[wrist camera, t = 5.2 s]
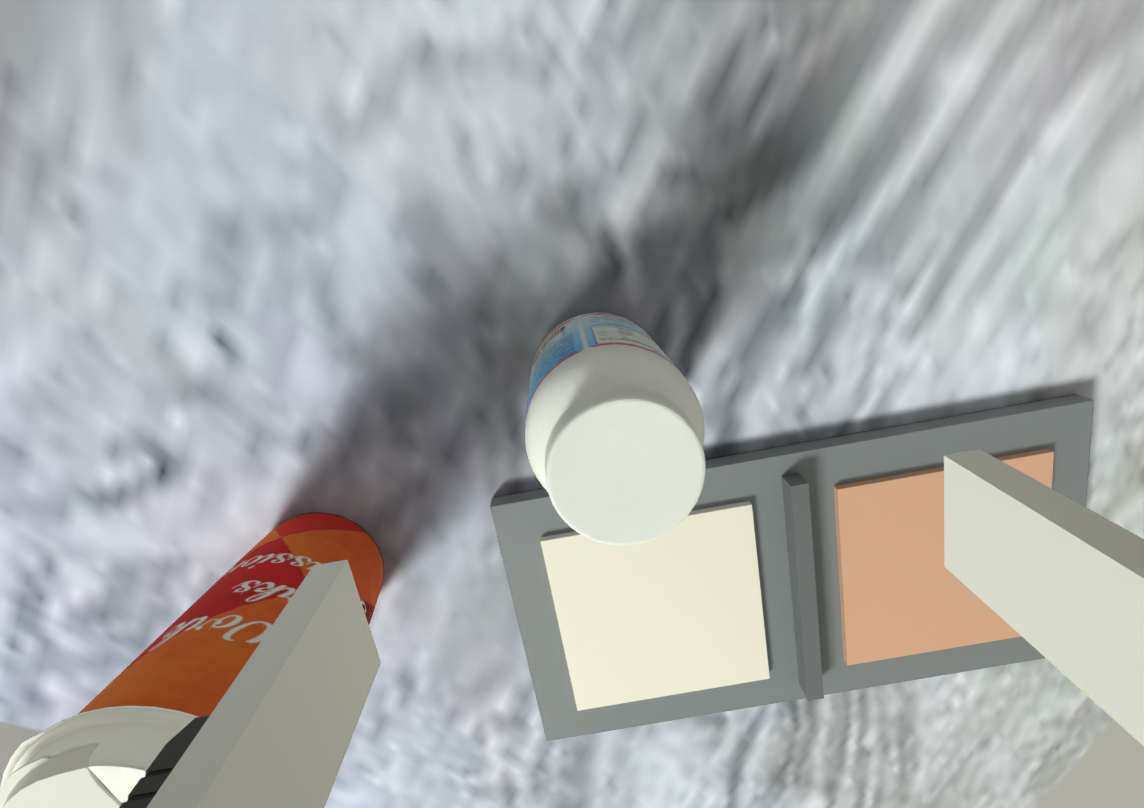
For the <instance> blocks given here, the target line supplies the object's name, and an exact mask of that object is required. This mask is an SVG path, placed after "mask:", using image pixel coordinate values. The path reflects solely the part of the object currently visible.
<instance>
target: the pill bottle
mask: <svg viewBox="0 0 1144 808" xmlns="http://www.w3.org/2000/svg"><path fill="white" fill-rule="evenodd" d="M703 442H704V420H703V415H702V410H701V407H700V404H699V401H698V399H697V397H696V394H695V392H694V391H693V389H692V387H691V386H690V384H689V383H688V381H687V380H686V378H685V377H684V375H683V374H682V373H681V372H680V371H679V370H678V369H677V367H676V366H675V365H674V364H673V363H672V362H671V360H670V359H669V358H668V357H667V356H666V355H665V353H664V352H663V351H662V350H661V349H660V348H659V346H658V345H657V344H656V343H655V342H654V341H653V339H652V338H651V337H650V336H649V335H648V334H647V333H646V332H645V331H644V330H643V329H642V328H641V327H639V326H638V325H637V324H635V323H634V322H632V321H630V320H628V319H626V318H624V317H621V316H618V315H615V314H610V313H599V312H598V313H587V314H582V315H578V316H576V317H573V318H571V319H568V320H566V321H565V322H563V323H561V324H560V325H558V326H557V327H556V328H554V329H553V330H552V331H551V332H550V333H549V334H548V335H547V336H546V338H545V339H544V340H543V341H542V343H541V344H540V346H539V348H538V350H537V352H536V354H535V357H534V359H533V363H532V367H531V372H530V382H529V392H528V403H527V413H526V424H525V443H526V450H527V455H528V458H529V461H530V465H531V467H532V469H533V471H534V473H535V475H536V477H537V479H538V480H539V482H540V483H541V484H542V486H543V487H544V488H545V489H546V491H547V492H548V493H549V496H550V499H551V502H552V504H553V506H554V508H555V509H556V511H557V513H558V514H559V515H560V517H561V518H562V519H563V520H564V521H565V522H566V523H567V524H568V525H569V526H570V527H571V528H572V529H574V530H575V531H576V532H578V533H579V534H581V535H583V536H585V537H587V538H589V539H591V540H594V541H597V542H600V543H604V544H610V545H623V546H624V545H634V544H640V543H644V542H648V541H651V540H654V539H656V538H658V537H660V536H662V535H664V534H666V533H667V532H669V531H670V530H672V529H673V528H675V527H676V526H677V525H678V524H680V523H681V522H682V521H683V520H684V519H685V518H686V517H687V516H688V514H689V513H690V512H691V510H692V509H693V507H694V506H695V504H696V502H697V501H698V498H699V496H700V494H701V491H702V488H703V485H704V480H705V473H706V462H705V455H704V450H703Z"/></svg>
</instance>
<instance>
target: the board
mask: <svg viewBox="0 0 1144 808" xmlns="http://www.w3.org/2000/svg"><path fill="white" fill-rule="evenodd" d="M1092 414H1093V400H1090V399H1087V398H1085V397H1082V396H1079V395H1070V396H1064V397H1059V398H1053V399H1047V400H1042V401H1036V402H1030V403H1025V404H1019V405H1013V406H1008V407H1002V408H996V409H991V410H985V411H979V412H974V413H968V414H962V415H957V416H951V417H946V418H940V419H934V420H929V421H923V422H917V423H912V424H906V425H900V426H895V427H889V428H883V429H878V430H872V431H866V432H861V433H855V434H849V435H844V436H838V437H832V438H827V439H821V440H816V441H810V442H804V443H799V444H793V445H787V446H782V447H776V448H770V449H765V450H759V451H753V452H748V453H742V454H736V455H731V456H725V457H719V458H714V459H708V460H705V462H706V473H705V480H704V485H703V488H702V491H701V494H700V496H699V498H698V501H697V502H696V504H695V506H694V507H693V509H692V510H691V512H690V513H689V514H688V516H687V517H686V518H685V519H684V520H683V521H682V522H681V523H680V524H678V525H677V526H676V527H675V528H673V529H672V530H670V531H669V532H667V533H666V534H664V535H662V536H660V537H658V538H656V539H654V540H651V541H648V542H644V543H640V544H634V545H624V546H623V545H610V544H604V543H600V542H597V541H594V540H591V539H589V538H587V537H585V536H583V535H581V534H579V533H578V532H576V531H575V530H574V529H572V528H571V527H570V526H569V525H568V524H567V523H566V522H565V521H564V520H563V519H562V518H561V517H560V515H559V514H558V513H557V511H556V509H555V508H554V506H553V504H552V502H551V499H550V496H549V493H548V492H547V491H546V489H545V488H544V489H538V490H533V491H527V492H522V493H516V494H510V495H505V496H499V497H493V498H492V501H491V506H490V508H491V512H492V516H493V521H494V525H495V529H496V533H497V537H498V541H499V545H500V550H501V554H502V558H503V562H504V566H505V570H506V574H507V578H508V583H509V587H510V591H511V595H512V599H513V603H514V607H515V612H516V616H517V620H518V624H519V628H520V632H521V636H522V641H523V645H524V649H525V653H526V657H527V661H528V665H529V670H530V674H531V678H532V682H533V686H534V690H535V694H536V699H537V703H538V707H539V711H540V715H541V719H542V723H543V727H544V732H545V736H546V740H547V741H551V740H557V739H563V738H569V737H575V736H581V735H587V734H593V733H599V732H605V731H611V730H617V729H623V728H629V727H635V726H641V725H647V724H653V723H659V722H665V721H671V720H677V719H683V718H689V717H695V716H701V715H707V714H713V713H719V712H725V711H731V710H737V709H743V708H749V707H755V706H761V705H767V704H773V703H779V702H785V701H791V700H797V699H803V698H807V700H808V701H810V700H816V699H822V698H824V695H827V694H833V693H839V692H845V691H851V690H857V689H863V688H869V687H875V686H880V685H886V684H892V683H898V682H904V681H910V680H916V679H922V678H928V677H934V676H940V675H946V674H952V673H958V672H964V671H970V670H976V669H982V668H988V667H994V666H1000V665H1006V664H1012V663H1018V662H1024V661H1030V660H1036V659H1042V658H1045V657H1044V656H1043V655H1042V654H1041V653H1040V652H1039V651H1037V650H1036V649H1035V648H1034V647H1033V646H1032V645H1031V644H1030V643H1029V642H1027V641H1026V640H1025V639H1024V638H1023V637H1022V636H1021V635H1020V634H1019V633H1018V632H1016V631H1015V630H1014V629H1013V628H1012V627H1011V626H1010V625H1009V624H1008V623H1006V622H1005V621H1004V620H1003V619H1002V618H1001V617H1000V616H999V615H998V614H996V613H995V612H994V611H993V610H992V609H991V608H990V607H989V606H988V605H986V604H985V603H984V602H983V601H982V600H981V599H980V598H979V597H978V596H976V595H975V594H974V593H973V592H972V591H971V590H970V589H969V588H968V587H966V586H965V585H964V584H963V583H962V582H961V581H960V580H959V579H958V578H956V577H955V576H954V575H953V574H952V573H951V572H950V571H949V570H948V569H946V568H945V567H944V455H949V454H955V453H960V452H966V451H972V450H978V449H980V450H982V451H984V452H986V453H988V454H989V455H991V456H993V457H995V458H997V459H998V460H1000V461H1002V462H1004V463H1006V464H1008V465H1009V466H1011V467H1013V468H1015V469H1017V470H1018V471H1020V472H1022V473H1024V474H1026V475H1028V476H1029V477H1031V478H1033V479H1035V480H1037V481H1038V482H1040V483H1042V484H1044V485H1046V486H1048V487H1049V488H1051V489H1053V490H1055V491H1057V492H1059V493H1060V494H1062V495H1064V496H1066V497H1068V498H1069V499H1071V500H1073V501H1075V502H1077V503H1079V504H1080V505H1082V506H1084V507H1086V494H1087V481H1088V467H1089V454H1090V440H1091V427H1092Z"/></svg>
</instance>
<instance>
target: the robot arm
mask: <svg viewBox="0 0 1144 808" xmlns="http://www.w3.org/2000/svg"><path fill="white" fill-rule="evenodd" d="M944 567H945V568H946V569H948V570H949V571H950V572H951V573H952V574H953V575H954V576H955V577H956V578H958V579H959V580H960V581H961V582H962V583H963V584H964V585H965V586H966V587H968V588H969V589H970V590H971V591H972V592H973V593H974V594H975V595H976V596H978V597H979V598H980V599H981V600H982V601H983V602H984V603H985V604H986V605H988V606H989V607H990V608H991V609H992V610H993V611H994V612H995V613H996V614H998V615H999V616H1000V617H1001V618H1002V619H1003V620H1004V621H1005V622H1006V623H1008V624H1009V625H1010V626H1011V627H1012V628H1013V629H1014V630H1015V631H1016V632H1018V633H1019V634H1020V635H1021V636H1022V637H1023V638H1024V639H1025V640H1026V641H1027V642H1029V643H1030V644H1031V645H1032V646H1033V647H1034V648H1035V649H1036V650H1037V651H1039V652H1040V653H1041V654H1042V655H1043V656H1044V657H1045V658H1046V659H1047V660H1049V661H1050V662H1051V663H1052V664H1053V665H1054V666H1055V667H1056V668H1057V669H1059V670H1060V671H1061V672H1062V673H1063V674H1064V675H1065V676H1066V677H1067V678H1069V679H1070V680H1071V681H1072V682H1073V683H1074V684H1075V685H1076V686H1077V687H1079V688H1080V689H1081V690H1082V691H1083V692H1084V693H1085V694H1086V695H1087V696H1089V697H1090V698H1091V699H1092V700H1093V701H1094V702H1095V703H1096V704H1097V705H1099V706H1100V707H1101V708H1102V709H1103V710H1104V711H1105V712H1106V713H1107V714H1109V715H1110V716H1111V717H1112V718H1113V719H1114V720H1115V721H1116V722H1117V723H1119V724H1120V725H1121V726H1122V727H1123V728H1124V729H1125V730H1126V731H1127V732H1129V733H1130V734H1131V735H1132V736H1133V737H1134V738H1135V739H1136V740H1137V741H1138V742H1140V743H1141V744H1142V745H1143V746H1144V539H1142V538H1140V537H1139V536H1137V535H1135V534H1133V533H1131V532H1129V531H1128V530H1126V529H1124V528H1122V527H1120V526H1119V525H1117V524H1115V523H1113V522H1111V521H1109V520H1108V519H1106V518H1104V517H1102V516H1100V515H1099V514H1097V513H1095V512H1093V511H1091V510H1089V509H1088V508H1086V507H1084V506H1082V505H1080V504H1079V503H1077V502H1075V501H1073V500H1071V499H1069V498H1068V497H1066V496H1064V495H1062V494H1060V493H1059V492H1057V491H1055V490H1053V489H1051V488H1049V487H1048V486H1046V485H1044V484H1042V483H1040V482H1038V481H1037V480H1035V479H1033V478H1031V477H1029V476H1028V475H1026V474H1024V473H1022V472H1020V471H1018V470H1017V469H1015V468H1013V467H1011V466H1009V465H1008V464H1006V463H1004V462H1002V461H1000V460H998V459H997V458H995V457H993V456H991V455H989V454H988V453H986V452H984V451H982V450H980V449H978V450H972V451H966V452H960V453H955V454H949V455H944ZM380 663H381V662H380V659H379V656H378V652H377V649H376V646H375V643H374V640H373V637H372V634H371V631H370V628H369V625H368V621H367V618H366V615H365V612H364V609H363V606H362V603H361V600H360V597H359V594H358V591H357V587H356V584H355V581H354V578H353V575H352V572H351V569H350V566H349V563H348V560H342V561H336V562H331V563H325V564H319V565H314V566H313V567H312V569H311V570H310V571H309V573H308V574H307V576H306V577H305V579H304V580H303V582H302V583H301V584H300V586H299V587H298V589H297V590H296V592H295V593H294V595H293V596H292V598H291V599H290V600H289V602H288V603H287V605H286V606H285V608H284V609H283V611H282V612H281V613H280V615H279V616H278V618H277V619H276V621H275V622H274V624H273V625H272V627H271V628H270V629H269V631H268V632H267V634H266V635H265V637H264V638H263V640H262V641H261V642H260V644H259V645H258V647H257V648H256V650H255V651H254V653H253V654H252V655H251V657H250V658H249V660H248V661H247V663H246V664H245V666H244V667H243V669H242V670H241V671H240V673H239V674H238V676H237V677H236V679H235V680H234V682H233V683H232V684H231V686H230V687H229V689H228V690H227V692H226V693H225V695H224V696H223V698H222V699H221V700H220V702H219V703H218V705H217V706H216V708H215V709H214V711H213V712H212V713H211V715H209V716H203V717H197V718H195V719H193V720H192V721H191V722H190V723H189V724H188V725H187V726H186V727H184V728H183V729H182V730H181V731H180V732H179V733H178V734H177V735H175V736H174V737H173V738H172V739H171V740H170V741H169V742H168V743H166V745H165V746H164V747H163V749H162V750H161V751H160V753H159V754H158V756H157V757H156V758H155V760H154V761H153V762H152V764H151V765H150V766H149V768H148V769H147V770H146V772H145V777H143V778H141V779H140V780H139V781H138V783H137V784H136V785H135V787H134V788H133V789H132V791H131V792H130V794H129V795H128V800H127V802H123V803H122V804H121V806H120V807H119V808H324V807H325V804H326V802H327V799H328V796H329V794H330V791H331V789H332V786H333V784H334V781H335V778H336V776H337V773H338V771H339V768H340V766H341V763H342V761H343V758H344V755H345V753H346V750H347V748H348V745H349V743H350V740H351V737H352V735H353V732H354V730H355V727H356V725H357V722H358V720H359V717H360V714H361V712H362V709H363V707H364V704H365V702H366V699H367V696H368V694H369V691H370V689H371V686H372V684H373V681H374V678H375V676H376V673H377V671H378V668H379V666H380Z"/></svg>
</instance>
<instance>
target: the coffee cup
mask: <svg viewBox="0 0 1144 808" xmlns="http://www.w3.org/2000/svg"><path fill="white" fill-rule="evenodd" d="M342 560H348V563H349V566H350V569H351V572H352V575H353V578H354V581H355V584H356V587H357V591H358V594H359V597H360V600H361V603H362V606H363V609H364V612H365V615H366V618H367V621H368V625H369V623H370V620H371V617H372V615H373V612H374V609H375V605H376V602H377V599H378V596H379V593H380V589H381V585H382V581H383V573H384V566H383V560H382V556H381V553H380V551H379V548H378V546H377V545H376V543H375V541H374V540H373V539H372V537H371V536H370V535H369V534H368V533H367V532H366V531H365V530H364V529H363V528H361V527H360V526H359V525H357V524H355V523H354V522H352V521H350V520H348V519H346V518H343V517H341V516H338V515H334V514H329V513H307V514H302V515H298V516H295V517H293V518H291V519H289V520H287V521H285V522H283V523H282V524H280V525H279V526H278V527H276V528H275V529H274V530H273V531H272V532H270V533H269V534H268V535H267V536H266V537H265V538H264V539H262V540H261V541H260V542H259V543H258V544H257V545H256V546H255V547H254V548H253V549H251V550H250V551H249V552H248V553H247V554H246V555H245V556H244V557H243V558H242V559H241V560H240V561H239V562H238V563H236V564H235V565H234V566H233V567H232V568H231V569H230V570H229V571H228V572H227V573H226V574H225V575H224V576H223V577H222V578H221V579H219V580H218V581H217V582H216V583H215V584H214V585H213V586H212V587H211V588H210V589H209V590H208V591H207V592H206V593H205V594H204V595H203V596H202V597H200V598H199V599H198V600H197V601H196V602H195V603H194V604H193V605H192V606H191V607H190V608H189V609H188V610H187V611H186V612H185V613H184V614H183V615H181V616H180V617H179V618H178V619H177V620H176V621H175V622H174V623H173V624H172V625H171V626H170V627H169V628H168V629H167V630H166V631H165V632H164V633H163V634H162V635H161V636H159V637H158V638H157V639H156V640H155V641H154V642H153V643H152V644H151V645H150V646H149V647H148V648H147V649H146V650H145V651H144V652H143V653H142V654H141V655H140V656H138V657H137V658H136V659H135V660H134V661H133V662H132V663H131V664H130V665H129V666H128V667H127V668H126V669H125V670H124V671H123V672H122V673H121V674H120V675H119V676H118V677H116V678H115V679H114V680H113V681H112V682H111V683H110V684H109V685H108V686H107V687H106V688H105V689H104V690H103V691H102V692H101V693H100V694H99V695H98V696H97V697H95V698H94V699H93V700H92V701H91V702H90V703H89V704H88V705H87V706H86V707H85V708H84V709H83V710H82V711H81V712H80V713H79V714H77V715H75V716H72V717H70V718H67V719H64V720H62V721H60V722H58V723H57V724H55V725H53V726H51V727H50V728H48V729H46V730H45V731H43V732H41V733H39V734H37V735H35V736H33V737H31V738H29V739H27V740H25V741H24V742H23V743H22V744H21V745H20V746H19V748H18V749H17V750H16V752H15V753H14V754H13V755H12V757H11V758H10V761H9V763H8V765H7V767H6V769H5V771H4V773H3V778H2V784H1V788H0V808H119V807H120V806H121V804H122V803H123V802H127V800H128V795H129V794H130V792H131V791H132V789H133V788H134V787H135V785H136V784H137V783H138V781H139V780H140V779H141V778H143V777H145V772H146V770H147V769H148V768H149V766H150V765H151V764H152V762H153V761H154V760H155V758H156V757H157V756H158V754H159V753H160V751H161V750H162V749H163V747H164V746H165V745H166V743H168V742H169V741H170V740H171V739H172V738H173V737H174V736H175V735H177V734H178V733H179V732H180V731H181V730H182V729H183V728H184V727H186V726H187V725H188V724H189V723H190V722H191V721H192V720H193V719H195V718H197V717H203V716H209V715H211V713H212V712H213V711H214V709H215V708H216V706H217V705H218V703H219V702H220V700H221V699H222V698H223V696H224V695H225V693H226V692H227V690H228V689H229V687H230V686H231V684H232V683H233V682H234V680H235V679H236V677H237V676H238V674H239V673H240V671H241V670H242V669H243V667H244V666H245V664H246V663H247V661H248V660H249V658H250V657H251V655H252V654H253V653H254V651H255V650H256V648H257V647H258V645H259V644H260V642H261V641H262V640H263V638H264V637H265V635H266V634H267V632H268V631H269V629H270V628H271V627H272V625H273V624H274V622H275V621H276V619H277V618H278V616H279V615H280V613H281V612H282V611H283V609H284V608H285V606H286V605H287V603H288V602H289V600H290V599H291V598H292V596H293V595H294V593H295V592H296V590H297V589H298V587H299V586H300V584H301V583H302V582H303V580H304V579H305V577H306V576H307V574H308V573H309V571H310V570H311V569H312V567H313V566H314V565H319V564H325V563H331V562H336V561H342Z"/></svg>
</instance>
